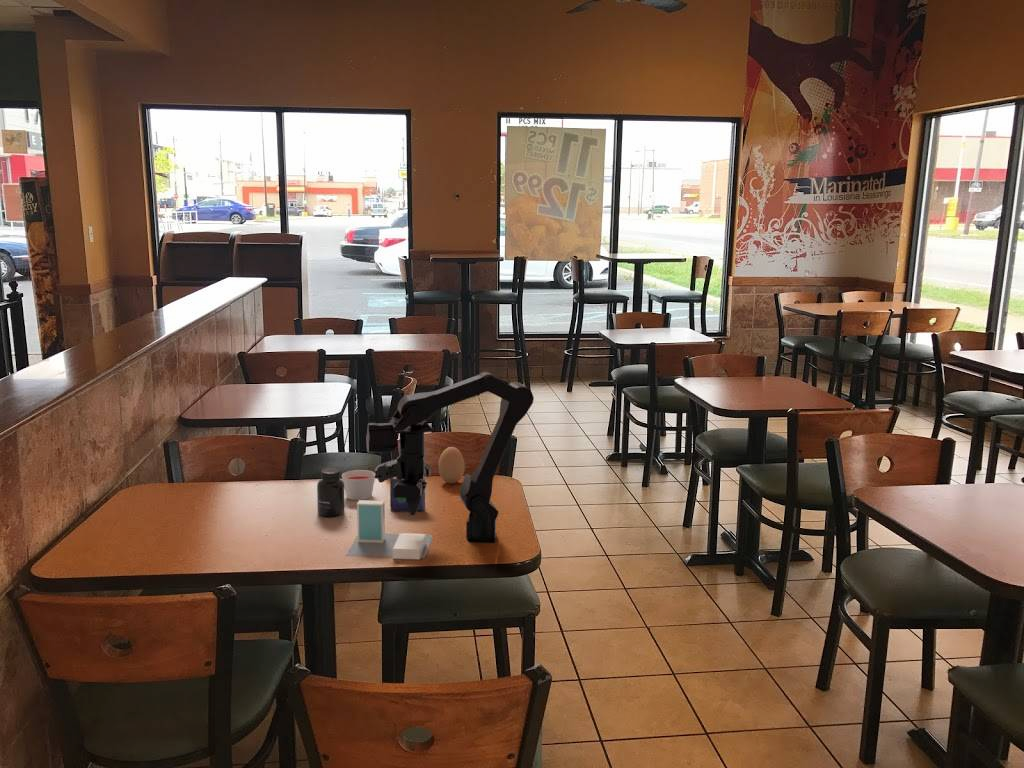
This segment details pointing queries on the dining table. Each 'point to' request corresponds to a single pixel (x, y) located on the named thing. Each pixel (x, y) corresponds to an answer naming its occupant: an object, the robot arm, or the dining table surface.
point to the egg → (451, 465)
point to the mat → (381, 547)
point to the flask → (403, 499)
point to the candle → (358, 484)
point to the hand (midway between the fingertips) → (412, 514)
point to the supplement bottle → (330, 494)
